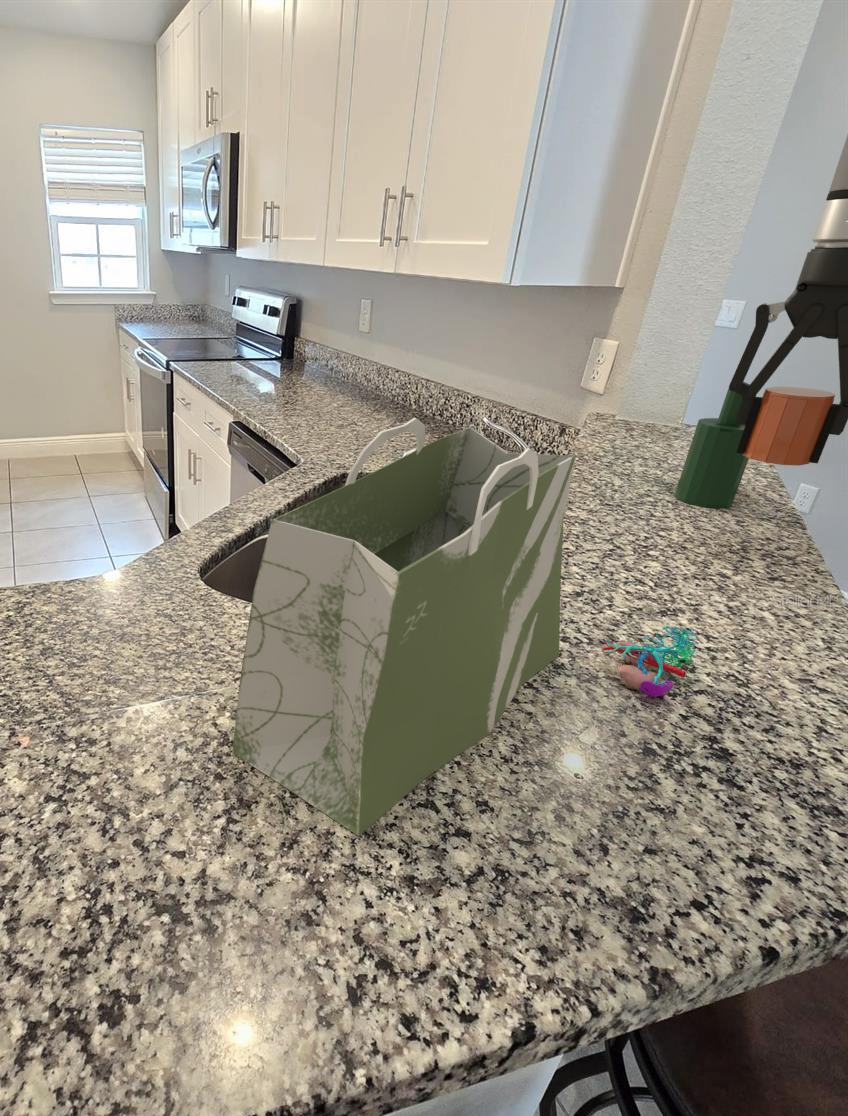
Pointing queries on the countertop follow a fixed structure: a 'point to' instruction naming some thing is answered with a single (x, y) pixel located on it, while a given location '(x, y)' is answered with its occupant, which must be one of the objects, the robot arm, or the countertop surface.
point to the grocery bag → (400, 619)
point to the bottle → (714, 459)
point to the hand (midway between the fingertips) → (776, 455)
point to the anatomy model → (653, 661)
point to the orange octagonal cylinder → (788, 425)
